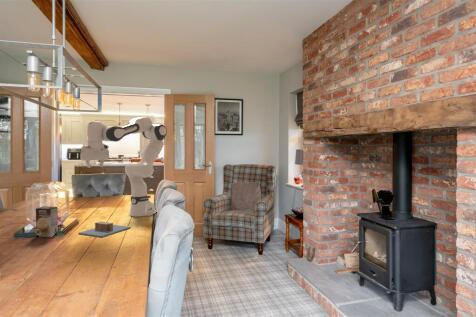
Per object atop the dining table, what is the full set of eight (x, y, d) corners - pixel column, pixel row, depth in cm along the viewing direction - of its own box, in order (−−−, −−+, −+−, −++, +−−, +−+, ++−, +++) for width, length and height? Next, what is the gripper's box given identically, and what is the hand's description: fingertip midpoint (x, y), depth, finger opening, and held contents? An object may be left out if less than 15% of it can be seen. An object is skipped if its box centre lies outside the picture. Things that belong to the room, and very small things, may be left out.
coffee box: (35, 237, 170) (34, 208, 169) (43, 233, 176) (43, 206, 176) (50, 237, 169) (50, 208, 168) (58, 234, 175) (58, 206, 175)
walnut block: (100, 221, 186) (112, 222, 182) (100, 227, 186) (113, 229, 182) (95, 222, 182) (107, 224, 178) (95, 229, 182) (107, 231, 178)
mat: (108, 225, 195) (108, 224, 195) (130, 228, 188) (130, 226, 188) (78, 234, 175) (78, 232, 175) (101, 237, 168) (101, 236, 168)
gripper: (84, 145, 189) (85, 168, 189) (110, 146, 208) (110, 166, 208) (77, 145, 191) (78, 167, 192) (103, 146, 210) (104, 166, 210)
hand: (95, 167), depth 200 cm, fingers open, 8 cm apart
